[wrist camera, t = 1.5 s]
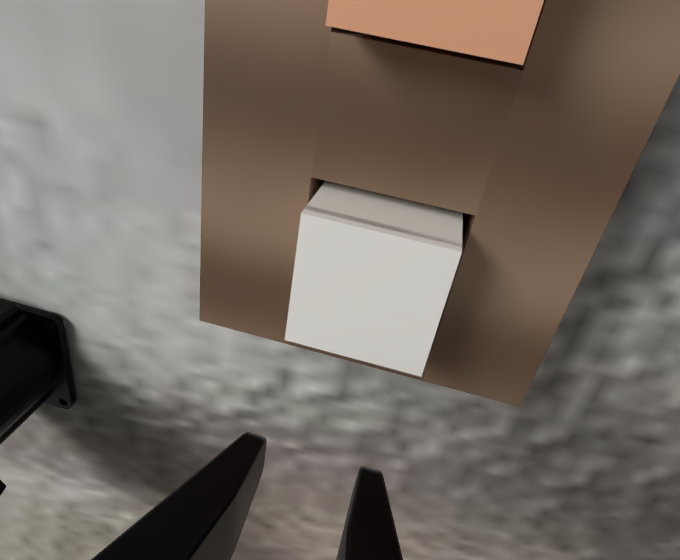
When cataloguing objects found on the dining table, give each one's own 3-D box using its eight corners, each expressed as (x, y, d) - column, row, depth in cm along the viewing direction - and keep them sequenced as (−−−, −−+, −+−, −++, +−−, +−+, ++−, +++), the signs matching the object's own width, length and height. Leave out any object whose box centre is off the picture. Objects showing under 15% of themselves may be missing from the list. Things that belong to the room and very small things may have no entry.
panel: (510, 339, 21) (519, 406, 18) (240, 270, 22) (199, 320, 19) (744, -204, 12) (848, -279, 9) (275, -269, 14) (211, -357, 10)
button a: (428, 315, 18) (421, 376, 15) (313, 285, 19) (284, 339, 16) (463, 204, 16) (462, 252, 13) (330, 173, 17) (300, 213, 14)
